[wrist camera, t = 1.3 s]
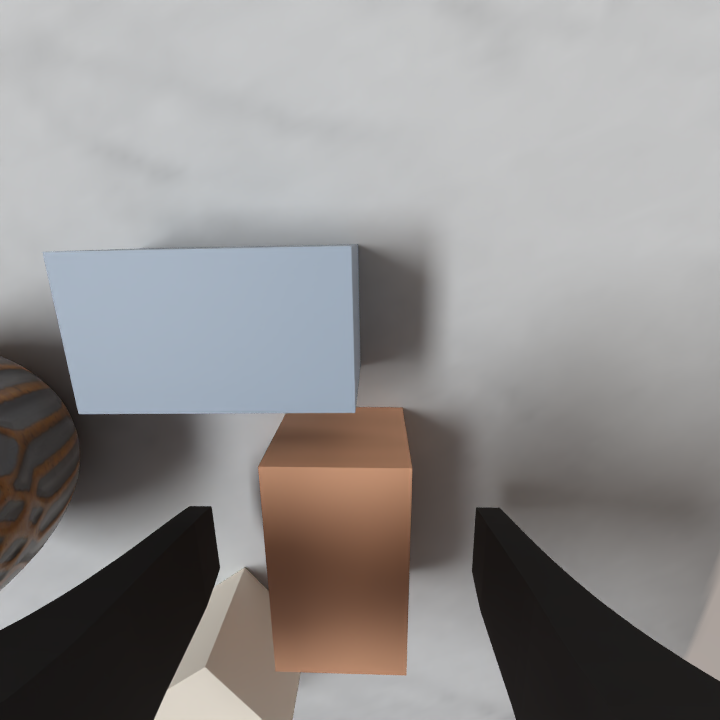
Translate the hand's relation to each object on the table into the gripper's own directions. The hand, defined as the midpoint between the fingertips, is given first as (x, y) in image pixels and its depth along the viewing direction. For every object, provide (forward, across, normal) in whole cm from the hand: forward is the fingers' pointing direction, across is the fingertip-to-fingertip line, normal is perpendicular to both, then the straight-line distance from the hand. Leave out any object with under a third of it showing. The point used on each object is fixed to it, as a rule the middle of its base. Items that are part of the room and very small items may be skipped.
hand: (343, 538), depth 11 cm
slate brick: (+2, +2, -6) cm, 7 cm away
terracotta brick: (+2, 0, 0) cm, 2 cm away
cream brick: (+2, +5, +6) cm, 8 cm away
